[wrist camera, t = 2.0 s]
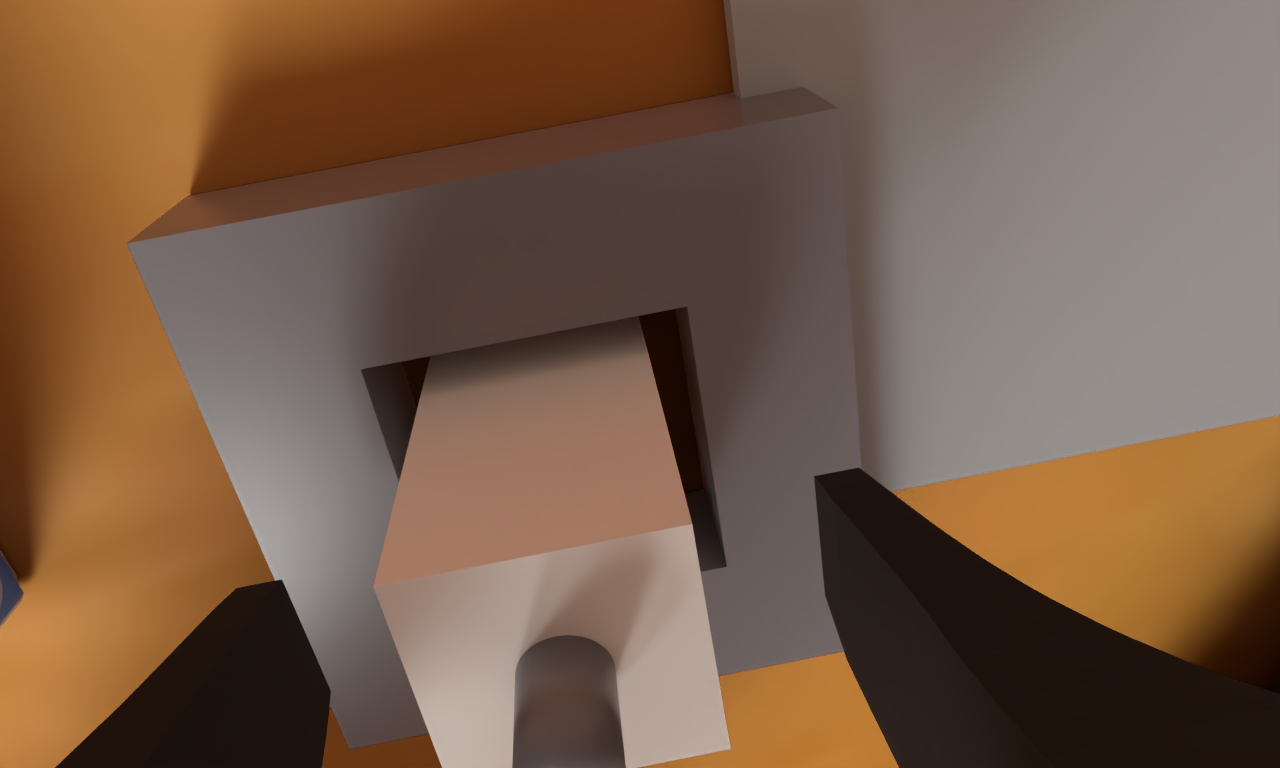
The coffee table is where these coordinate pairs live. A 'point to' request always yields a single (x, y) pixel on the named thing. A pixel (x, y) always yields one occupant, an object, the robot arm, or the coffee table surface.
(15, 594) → the medicine box
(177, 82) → the coffee table surface
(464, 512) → the plug
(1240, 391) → the rubber pad
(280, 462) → the socket block
